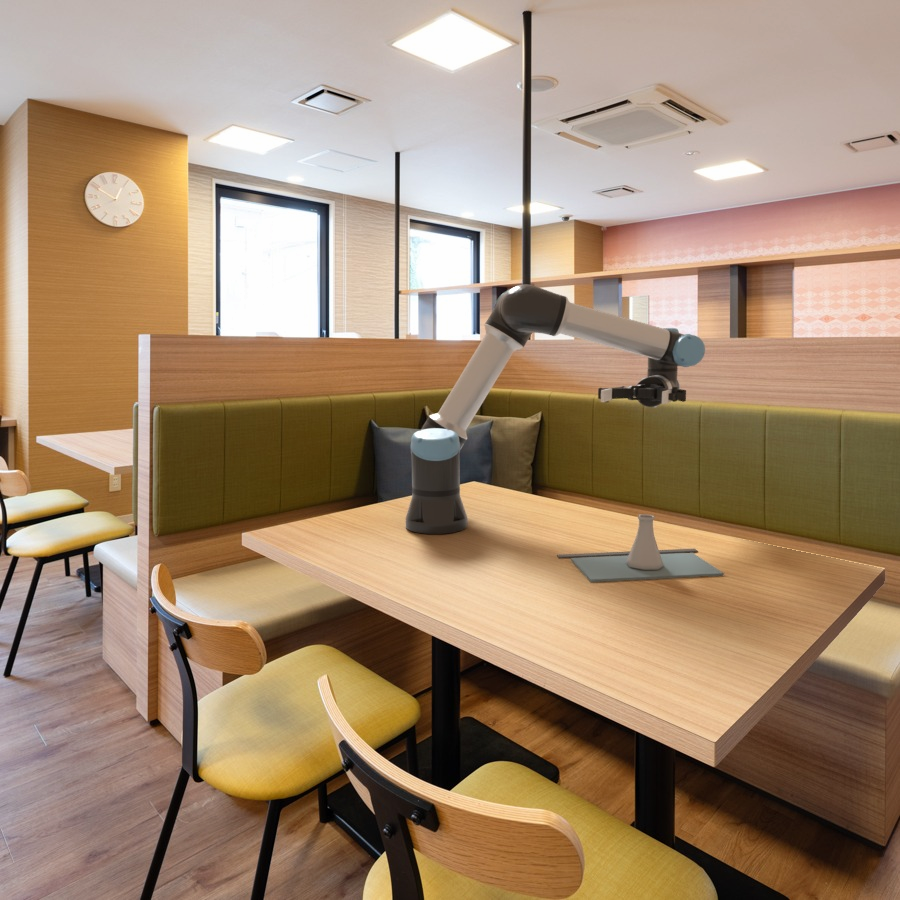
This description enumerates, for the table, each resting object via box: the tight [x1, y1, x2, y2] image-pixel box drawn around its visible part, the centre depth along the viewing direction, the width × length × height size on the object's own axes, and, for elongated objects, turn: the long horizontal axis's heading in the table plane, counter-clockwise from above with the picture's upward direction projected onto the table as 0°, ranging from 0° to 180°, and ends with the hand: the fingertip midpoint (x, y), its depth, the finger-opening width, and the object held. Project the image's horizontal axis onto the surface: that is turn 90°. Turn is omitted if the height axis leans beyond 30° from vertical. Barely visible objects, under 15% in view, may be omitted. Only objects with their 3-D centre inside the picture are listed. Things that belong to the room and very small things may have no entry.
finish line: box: [556, 548, 699, 559], centre depth 142 cm, size 30×2×1 cm, turn 96°
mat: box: [570, 552, 725, 583], centre depth 133 cm, size 26×13×1 cm, turn 96°
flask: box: [626, 513, 664, 570], centre depth 132 cm, size 7×7×10 cm
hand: (632, 396), depth 150 cm, fingers open, 13 cm apart
